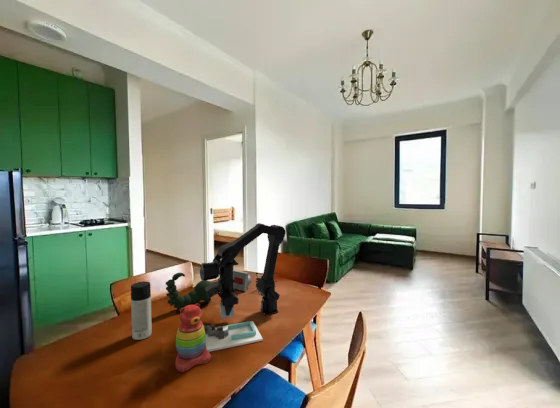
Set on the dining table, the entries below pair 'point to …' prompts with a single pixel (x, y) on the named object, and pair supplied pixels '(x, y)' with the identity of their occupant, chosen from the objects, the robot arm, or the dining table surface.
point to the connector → (223, 312)
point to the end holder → (242, 335)
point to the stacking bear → (191, 339)
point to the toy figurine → (191, 297)
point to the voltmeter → (242, 280)
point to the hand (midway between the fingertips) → (226, 313)
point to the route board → (228, 337)
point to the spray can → (141, 310)
